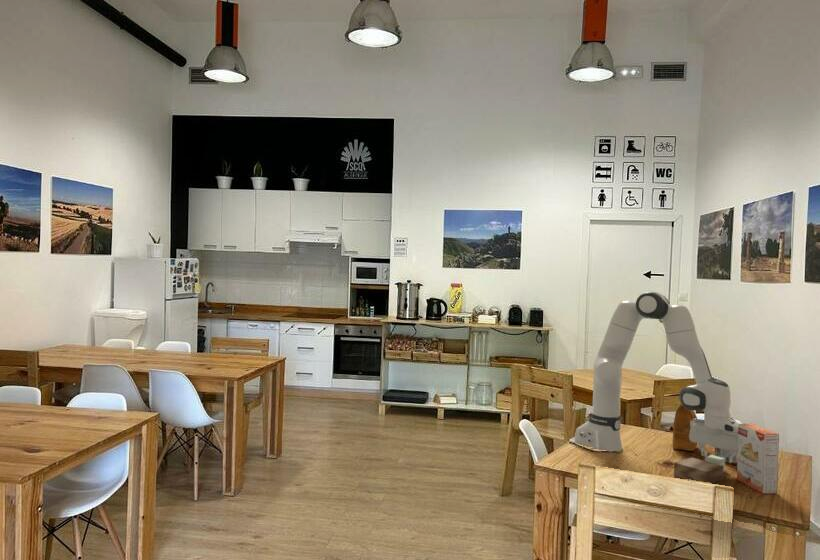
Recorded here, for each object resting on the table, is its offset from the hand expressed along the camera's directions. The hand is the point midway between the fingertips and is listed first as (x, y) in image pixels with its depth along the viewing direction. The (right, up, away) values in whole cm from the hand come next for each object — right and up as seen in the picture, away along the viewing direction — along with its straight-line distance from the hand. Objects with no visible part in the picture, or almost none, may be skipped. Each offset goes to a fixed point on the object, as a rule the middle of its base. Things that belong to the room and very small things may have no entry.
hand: (716, 458), depth 229 cm
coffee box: (+12, -5, +15) cm, 20 cm away
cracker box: (+5, -5, -17) cm, 19 cm away
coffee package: (+1, -4, +29) cm, 29 cm away
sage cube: (-1, -5, 0) cm, 5 cm away
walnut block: (-11, -4, -9) cm, 15 cm away
